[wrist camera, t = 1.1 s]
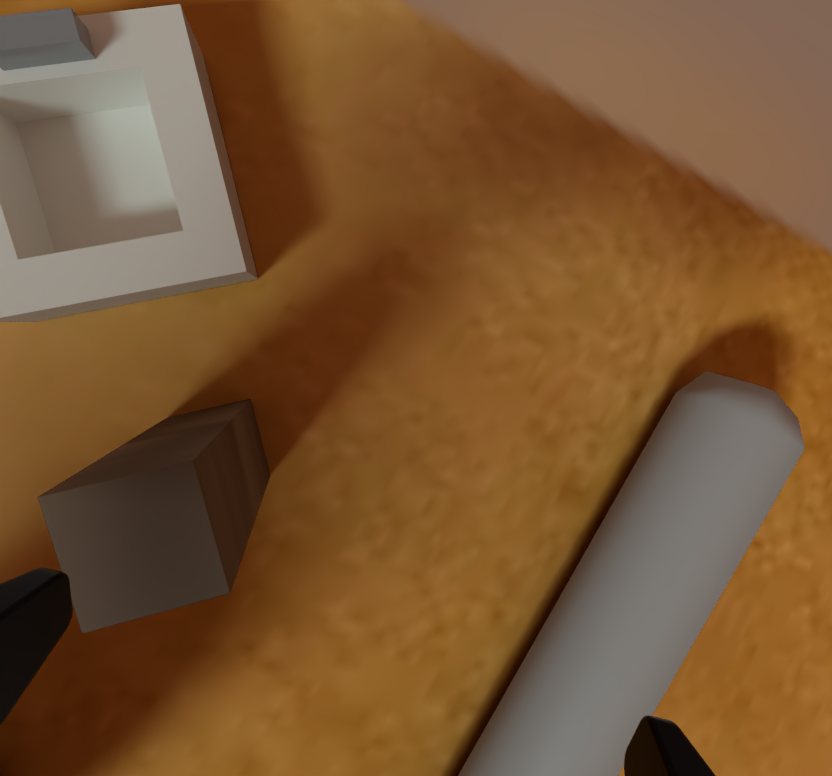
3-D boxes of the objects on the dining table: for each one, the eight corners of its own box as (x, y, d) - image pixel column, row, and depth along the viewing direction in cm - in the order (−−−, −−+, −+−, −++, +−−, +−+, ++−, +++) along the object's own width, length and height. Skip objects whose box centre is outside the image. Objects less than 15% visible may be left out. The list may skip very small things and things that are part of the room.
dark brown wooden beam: (189, 495, 20) (82, 633, 11) (167, 417, 19) (37, 497, 11) (270, 475, 20) (229, 593, 11) (250, 399, 20) (193, 460, 11)
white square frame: (33, 321, 18) (-46, 321, 14) (-40, 87, 17) (-148, 17, 13) (257, 279, 19) (241, 267, 15) (203, 55, 18) (170, -19, 14)
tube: (723, 342, 19) (374, 956, 19) (869, 417, 18) (507, 1051, 18) (667, 357, 24) (395, 837, 24) (779, 416, 23) (499, 908, 24)
